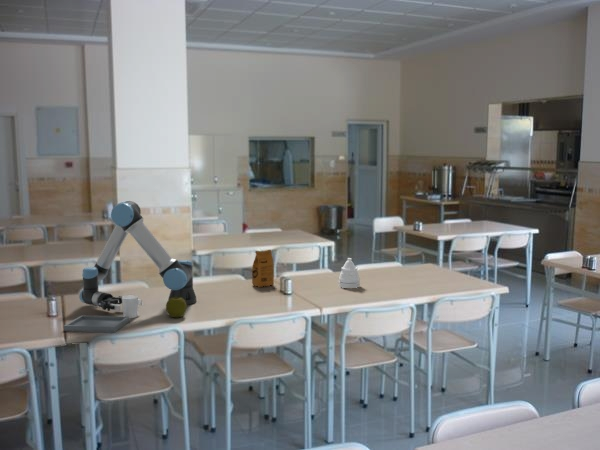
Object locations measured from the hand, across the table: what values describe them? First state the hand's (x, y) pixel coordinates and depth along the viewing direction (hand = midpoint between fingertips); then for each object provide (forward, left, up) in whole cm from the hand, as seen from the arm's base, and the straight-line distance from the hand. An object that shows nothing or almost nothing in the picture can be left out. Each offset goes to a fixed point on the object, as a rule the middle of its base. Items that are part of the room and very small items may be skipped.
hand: (130, 305), depth 301 cm
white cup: (+1, -1, -6) cm, 6 cm away
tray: (+10, +17, -6) cm, 21 cm away
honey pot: (-106, -81, -6) cm, 134 cm away
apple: (-22, -3, -6) cm, 23 cm away
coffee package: (-53, -79, -6) cm, 95 cm away
